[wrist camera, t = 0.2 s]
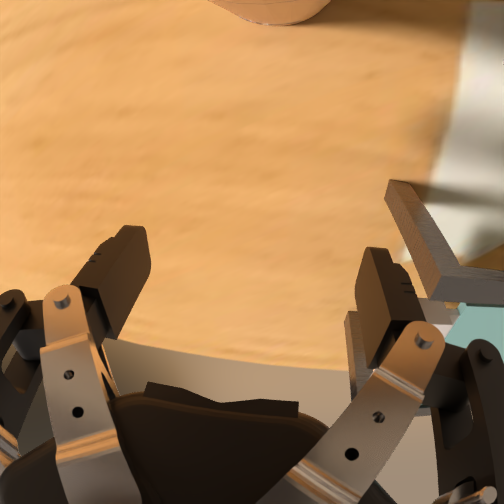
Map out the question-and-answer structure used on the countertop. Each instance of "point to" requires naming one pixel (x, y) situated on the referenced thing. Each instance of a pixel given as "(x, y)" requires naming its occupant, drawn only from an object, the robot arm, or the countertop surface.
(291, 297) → the countertop surface
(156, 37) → the countertop surface
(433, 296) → the frame
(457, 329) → the trapdoor
